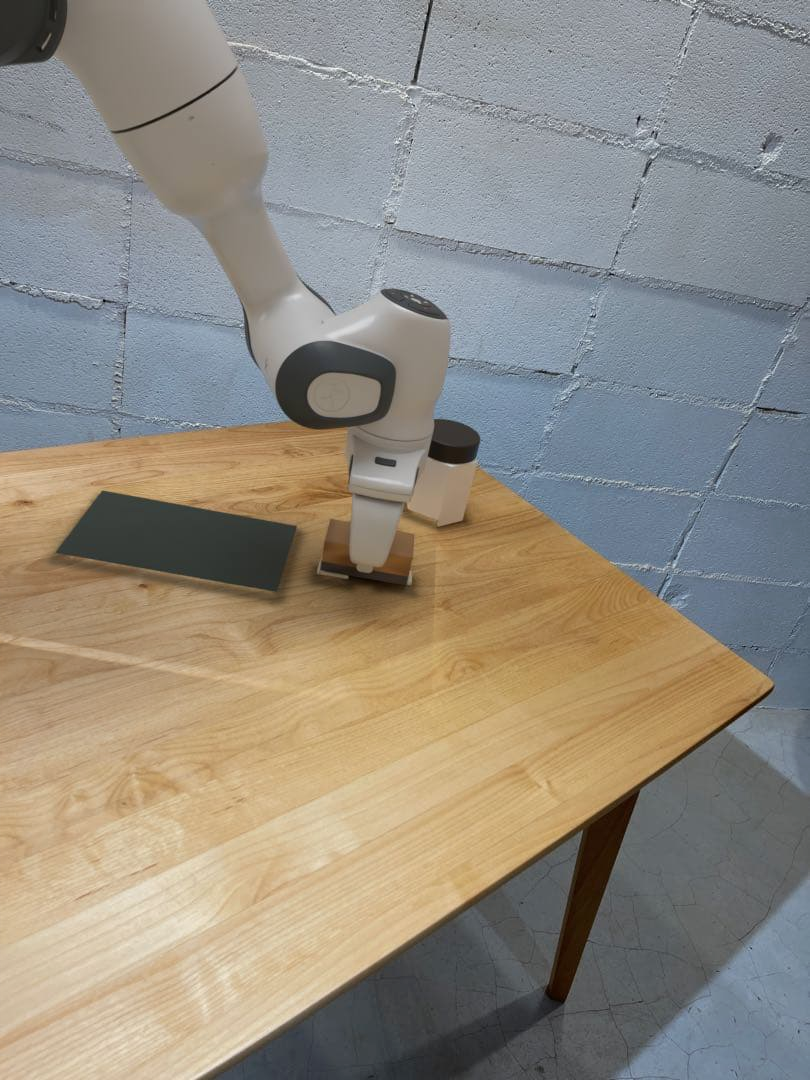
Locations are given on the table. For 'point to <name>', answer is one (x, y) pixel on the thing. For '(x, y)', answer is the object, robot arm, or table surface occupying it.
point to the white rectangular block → (331, 573)
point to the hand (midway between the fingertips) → (366, 553)
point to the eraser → (391, 571)
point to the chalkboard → (182, 540)
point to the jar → (447, 473)
